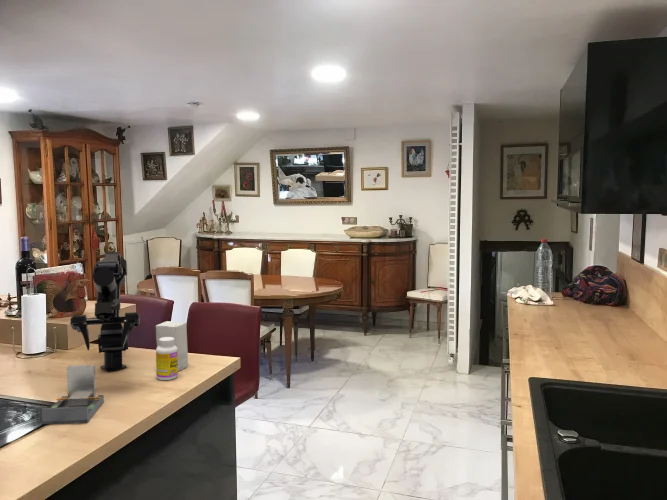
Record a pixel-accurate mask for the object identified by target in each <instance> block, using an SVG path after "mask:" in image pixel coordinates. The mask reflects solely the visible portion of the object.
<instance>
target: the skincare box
mask: <svg viewBox="0 0 667 500" xmlns="http://www.w3.org/2000/svg"><path fill="white" fill-rule="evenodd" d="M187 329H188V328H187V322H182V321H170V320H169V321H168V320H167V321H163V322H162V323H159V324H156V325H155V335H156V336H155V339H156V348H157V347H158V346H160V344H159V339H160V338H163V337H173V338H174V345H175V346H176V347H177V349H178V372H180V371H182V370H184V369H186V368H188V366H189V356H188V355H189V353H188V352H189V351H188V334H187V333H188V331H187Z"/></svg>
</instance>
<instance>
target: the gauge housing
mask: <svg viewBox="0 0 667 500" xmlns="http://www.w3.org/2000/svg"><path fill="white" fill-rule="evenodd" d="M104 396H105V395H104V394H98V395H96V397H101V399H95V400H94V401H91V402H90V403H89V404H88V405H81V406H68V400H57V401H56V402H55V403H54V404H53V405H52V406H51V407H43V408H41V425H64V424H66V425H67V424H87V423H89V422H90V420H91V419H92V417H93V416H95V414H96V413H97V411H98V410H99V409H100V407H101V406H102V405H103V404H104V401H105V400H104ZM60 398H68V395H63V396H61V397H60Z"/></svg>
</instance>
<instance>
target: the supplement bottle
mask: <svg viewBox="0 0 667 500" xmlns="http://www.w3.org/2000/svg"><path fill="white" fill-rule="evenodd" d="M159 344H160V346H158V347H157V346H156V349H155V354H156V355H155V365H156V366H155V372H156V374H155V375H156V379H157V380H159V381H171V380H174V379H176V378H177V377H178V375H179V374H178V373H179V371H178V349H177V347H176V346H175V345H174V338H173V337H163V338H160V339H159Z"/></svg>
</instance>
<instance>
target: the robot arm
mask: <svg viewBox="0 0 667 500" xmlns="http://www.w3.org/2000/svg"><path fill="white" fill-rule="evenodd" d="M126 276H128V264H127V260H126V259H125V258H124V257H122V255H121V252H118V251H117V252H116V251H115V252H114V251H112V252H111V251H109V252H104V258H103V259H102V260H97V262H96V264H94V265H93V270H92V279H93V283H94V286H95V289H96V302H94V317H93V318H91V317H90V318H88V317H87V314H77V315H76V314H73V315H72V316H71V317H70V326H71V329H72V330H73V331H77V333H81V334H82V337H83V340H84V343H85V346H86V350H87V351H90V333H89V332H90V331H89V329H88V326H94V325H95V326H96V325H101V326H100V332H99V334H98V336H97V337H98V338H97V345H98V353H99V354H101V353H103V362H104V363H103V365H100V366H99V367H100V369H102V370H104V371H106V372H108V373H110V372H113V371H119V370H122V369H126V368H127V367H128V366H127V365H125V364H123V352H126V351H128V350H129V338H128V337H129V335H130V334H131V332H132V330H135V329H136V327H140V324H141V323H140V321H141V319H140V313H138V312H125V313H124V316H120V311H121V287H122V286H123V285H124V284H125V282H126Z"/></svg>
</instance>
